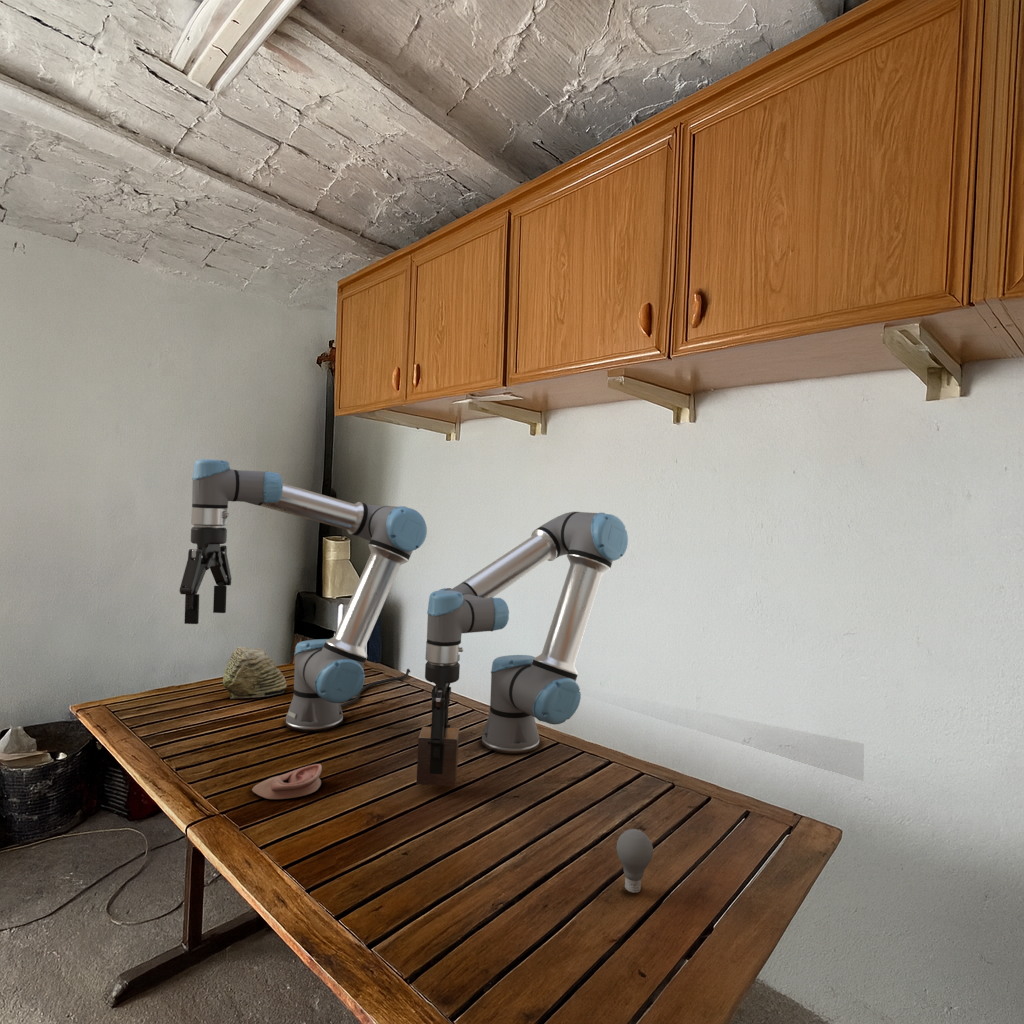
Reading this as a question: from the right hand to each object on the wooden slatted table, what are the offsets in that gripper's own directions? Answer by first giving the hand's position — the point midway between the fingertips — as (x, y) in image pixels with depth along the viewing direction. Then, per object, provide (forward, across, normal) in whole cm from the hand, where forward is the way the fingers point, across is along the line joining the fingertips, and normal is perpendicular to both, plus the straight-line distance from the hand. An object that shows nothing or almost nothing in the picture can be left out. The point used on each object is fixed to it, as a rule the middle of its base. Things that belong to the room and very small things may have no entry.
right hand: (437, 765), depth 139 cm
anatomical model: (+5, -2, +32) cm, 33 cm away
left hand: (-29, +8, +56) cm, 63 cm away
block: (+3, 0, 0) cm, 3 cm away
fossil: (+5, +59, +64) cm, 87 cm away
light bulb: (+5, -34, -36) cm, 50 cm away
